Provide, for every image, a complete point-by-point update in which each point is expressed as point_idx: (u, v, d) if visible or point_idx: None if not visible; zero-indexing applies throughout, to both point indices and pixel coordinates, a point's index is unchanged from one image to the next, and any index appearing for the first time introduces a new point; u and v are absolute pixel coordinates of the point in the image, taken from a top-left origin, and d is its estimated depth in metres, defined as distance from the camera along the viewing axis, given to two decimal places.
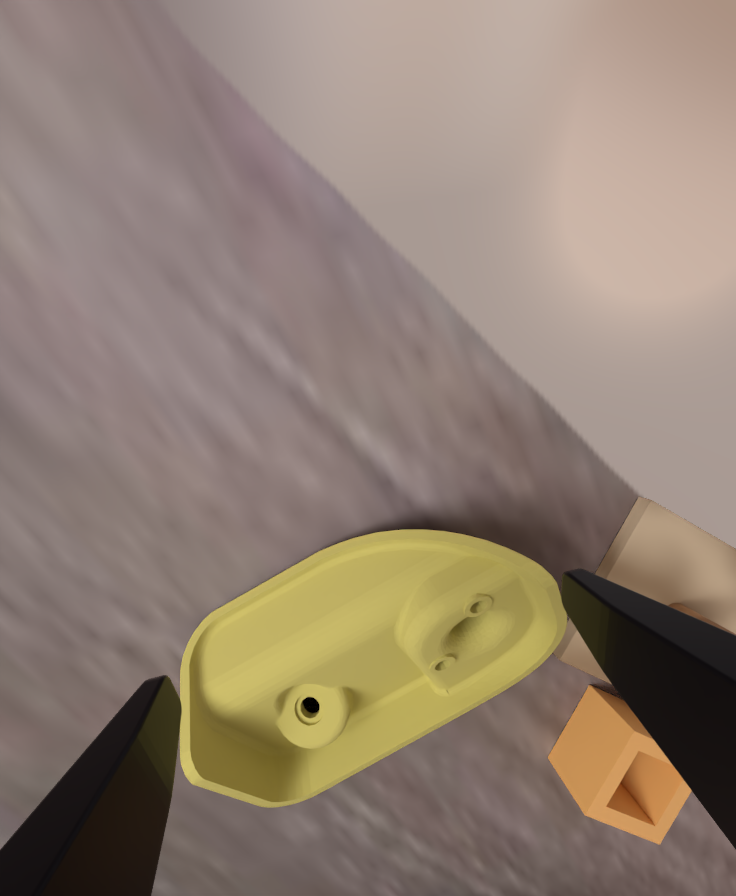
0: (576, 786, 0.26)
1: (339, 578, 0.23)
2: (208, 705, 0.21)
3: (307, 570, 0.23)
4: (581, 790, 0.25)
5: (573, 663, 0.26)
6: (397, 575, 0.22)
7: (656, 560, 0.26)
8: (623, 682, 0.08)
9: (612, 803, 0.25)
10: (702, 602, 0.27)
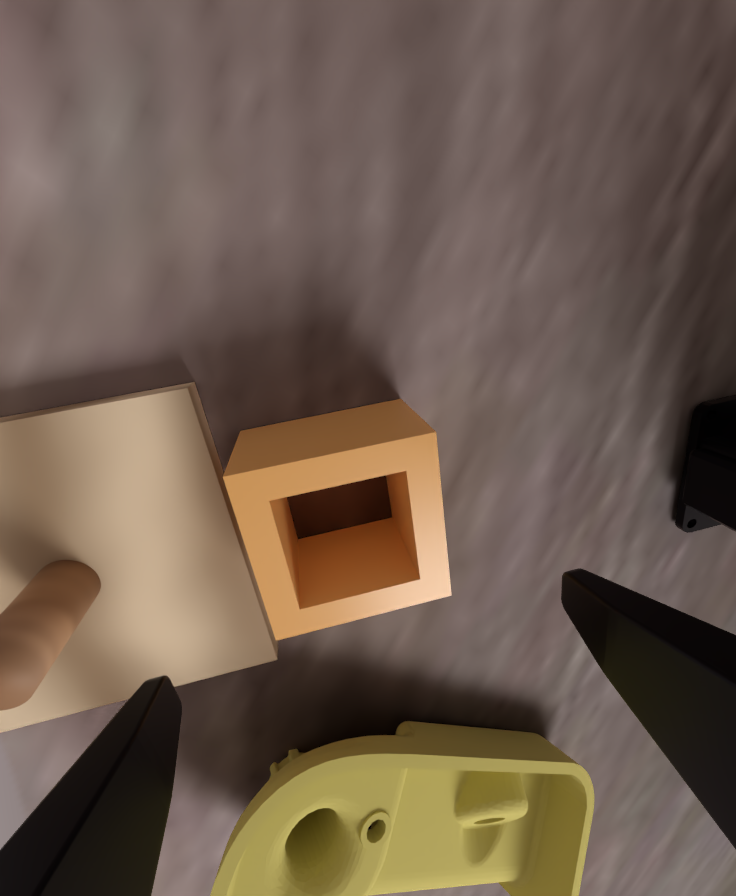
0: None
1: None
2: (514, 880, 0.23)
3: None
4: None
5: (267, 642, 0.17)
6: None
7: None
8: (623, 682, 0.08)
9: (412, 546, 0.13)
10: None
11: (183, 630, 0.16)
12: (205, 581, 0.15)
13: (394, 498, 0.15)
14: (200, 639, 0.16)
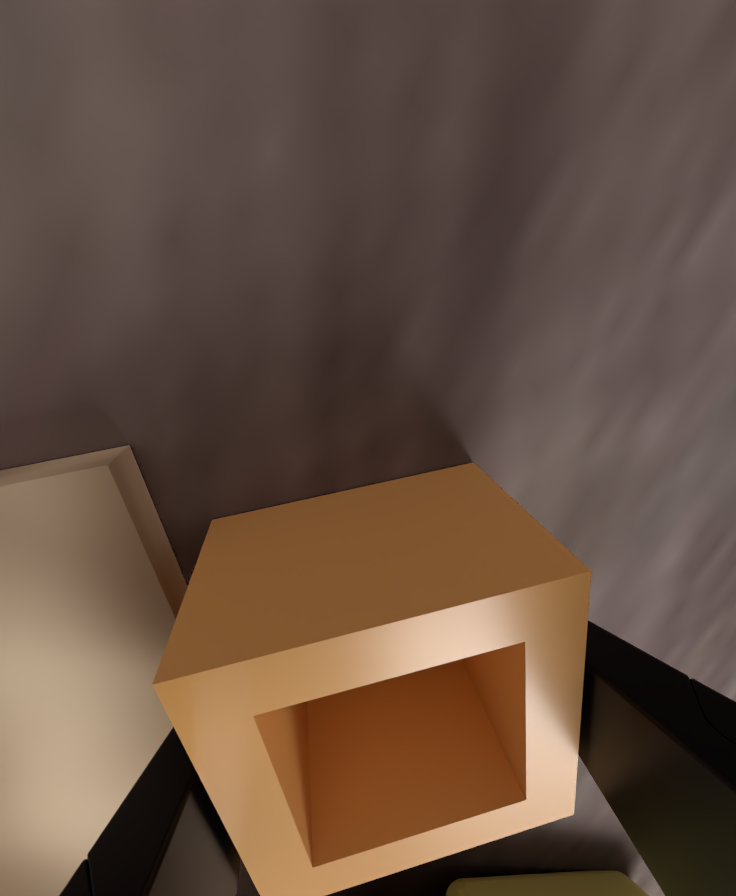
0: None
1: None
2: None
3: None
4: None
5: None
6: None
7: None
8: None
9: (511, 739, 0.07)
10: None
11: None
12: None
13: None
14: None
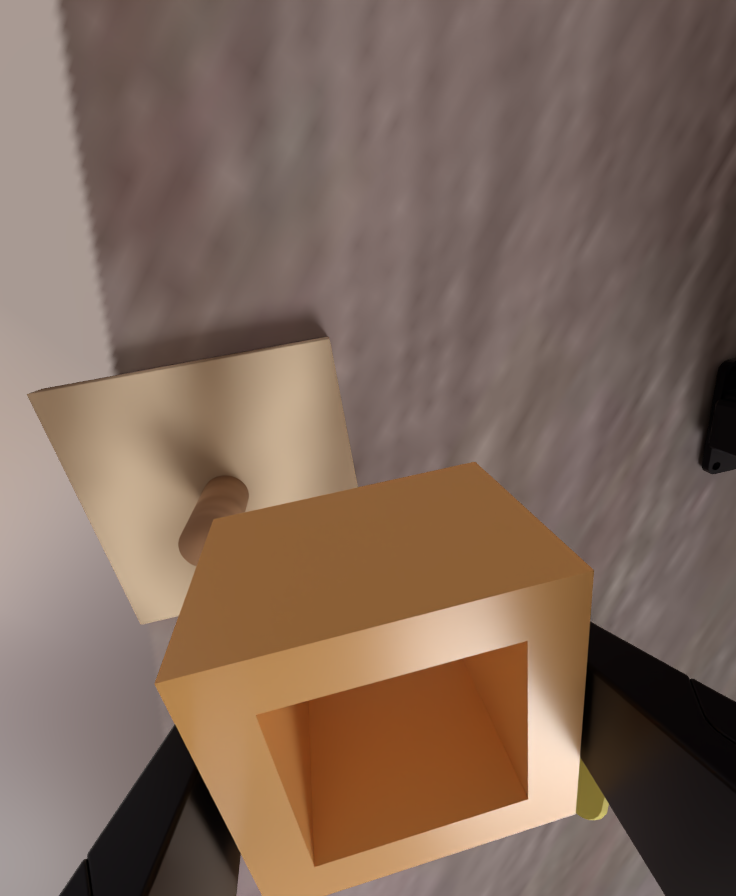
0: None
1: None
2: None
3: None
4: None
5: None
6: None
7: (189, 568, 0.19)
8: None
9: (513, 738, 0.07)
10: (177, 476, 0.18)
11: None
12: None
13: None
14: None
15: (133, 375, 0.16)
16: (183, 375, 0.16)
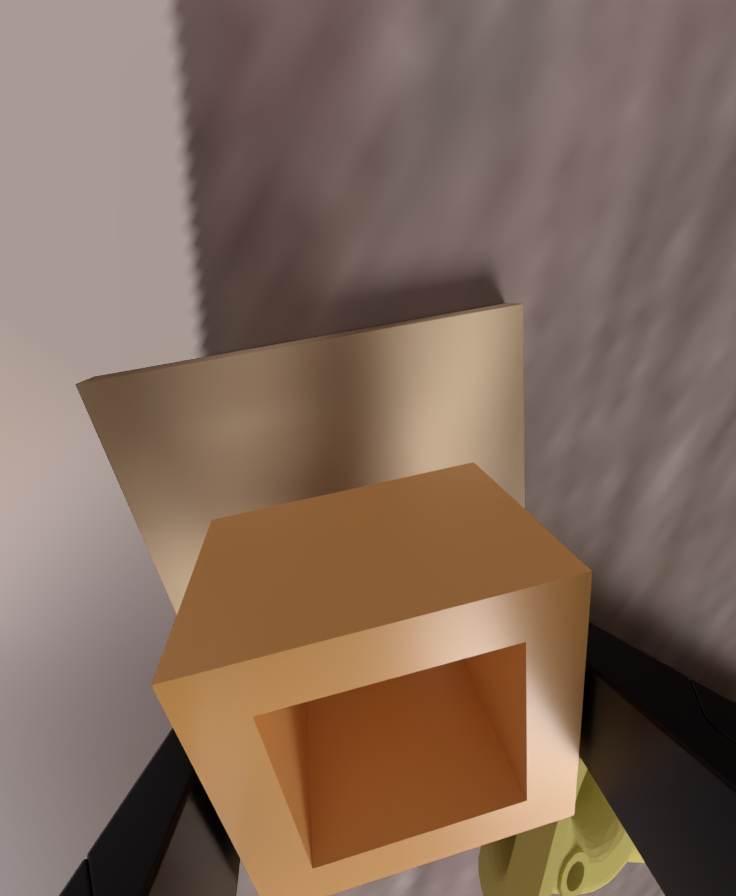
0: None
1: None
2: None
3: None
4: None
5: None
6: None
7: None
8: None
9: (512, 739, 0.07)
10: None
11: None
12: None
13: None
14: None
15: (238, 356, 0.10)
16: (311, 356, 0.11)
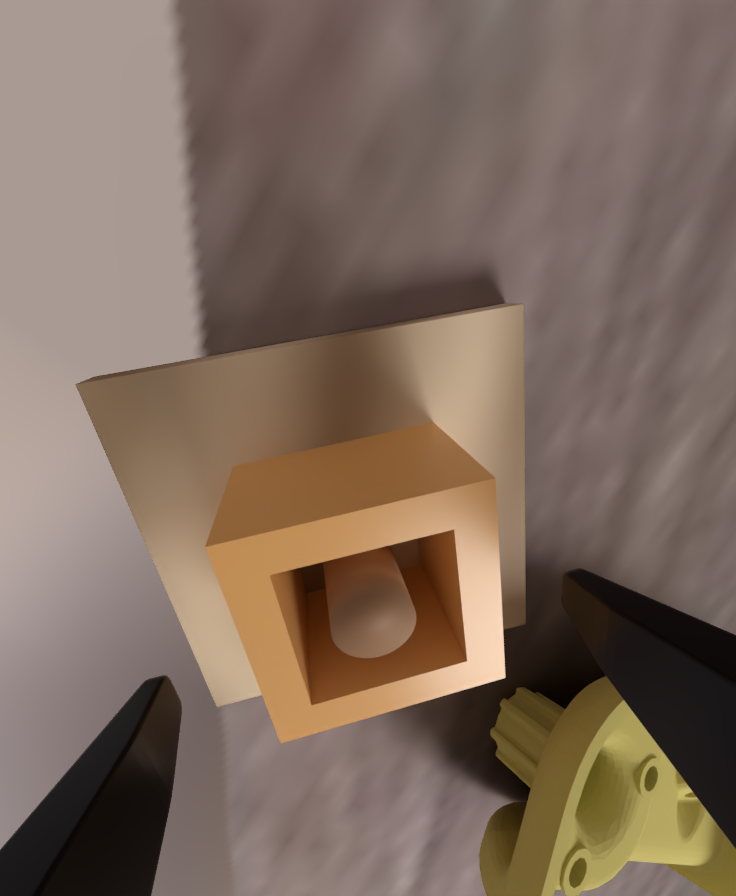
0: None
1: None
2: (701, 865, 0.22)
3: None
4: None
5: (521, 603, 0.15)
6: None
7: None
8: (623, 682, 0.08)
9: (456, 618, 0.10)
10: None
11: None
12: None
13: (426, 547, 0.12)
14: None
15: (238, 356, 0.10)
16: (312, 356, 0.11)
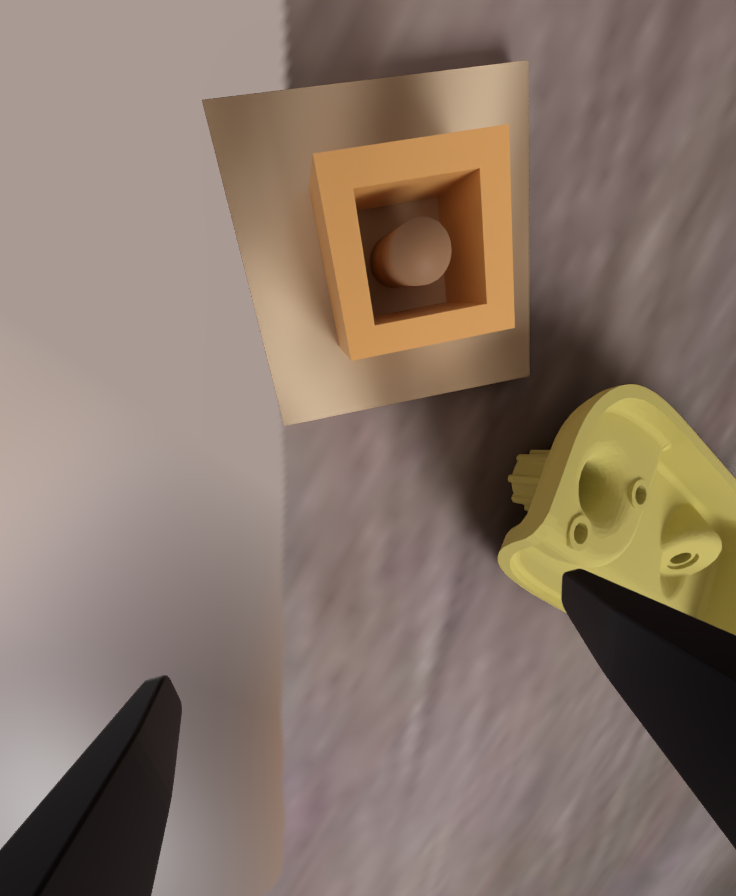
0: None
1: (557, 586, 0.23)
2: None
3: (550, 597, 0.25)
4: None
5: (526, 354, 0.19)
6: (550, 570, 0.21)
7: (343, 355, 0.18)
8: (623, 682, 0.08)
9: (479, 274, 0.14)
10: None
11: None
12: None
13: (453, 260, 0.16)
14: (476, 342, 0.18)
15: (317, 87, 0.14)
16: (370, 92, 0.14)
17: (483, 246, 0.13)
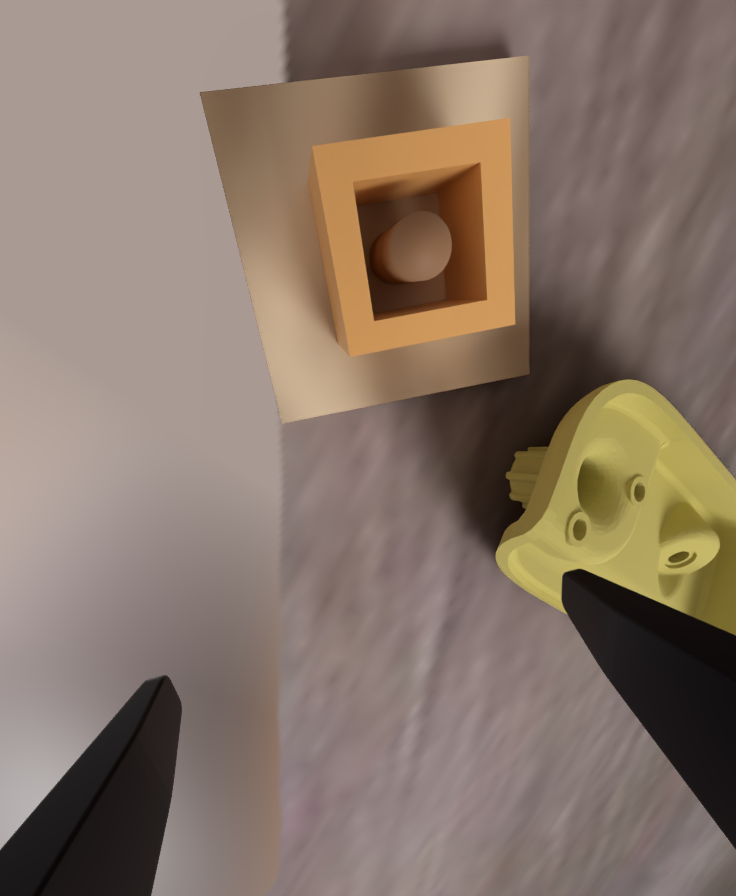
0: None
1: (554, 585, 0.23)
2: None
3: (548, 596, 0.25)
4: None
5: (525, 352, 0.19)
6: (548, 568, 0.21)
7: (342, 352, 0.17)
8: (623, 682, 0.08)
9: (479, 270, 0.14)
10: None
11: None
12: None
13: (453, 256, 0.16)
14: (476, 339, 0.18)
15: (316, 81, 0.14)
16: (370, 86, 0.14)
17: (484, 241, 0.13)
